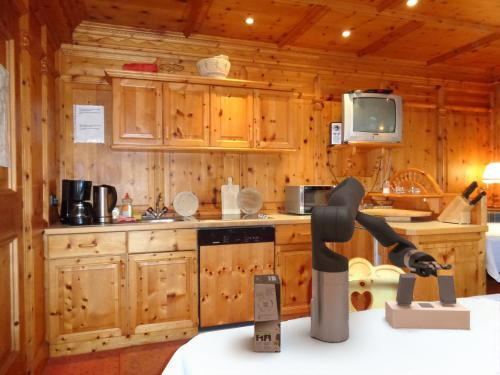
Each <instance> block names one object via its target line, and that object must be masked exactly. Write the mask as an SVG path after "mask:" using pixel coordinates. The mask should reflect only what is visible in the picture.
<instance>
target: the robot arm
mask: <svg viewBox="0 0 500 375" xmlns="http://www.w3.org/2000/svg"><path fill="white" fill-rule="evenodd" d="M329 194H330V198H329V199H328V201H327V203H326V205H317V206H314V207H313V208H312V209H311V214H310V239H311V274H312V275H311V276H312V277H311V280H312V281H311V294H312V295H311V299H310V337H311V338H316V339H318V340H320V341H323V342H329V343H339V342H344V341H346V340H348V339H349V338H350V311H349V310H350V290H349V289H350V282H349V280H350V277H349V276H350V275H349V274H350V271H349V270H350V268H349V267H350V266H349V265H350V262H349V259H348V257H346V256H345V255H343V254H341V253H338V252H336V251H334V250H332V249H331V248H330V247H329V246H327V244H326V243H338V244H340V243H341V244H343V243H348V242H349V241H351V240H352V238H353V236H354V232H355V228H356V223H358V224H359V225H360V226H361V227H363V228H364V229H365V230H366V231H367V232H368V233H369V234H371V235H372V237H373V238H374V239H375V240H376V241H377V243H379V244H380V245H381V246H382V247H384V248H389V247H392V246H393V247H392V249H390V250H389V251H388V253H387V259H388V261H389V262H390V263H391V264H392V265H393V266H396V267H397V268H401V269H402V268H403V269H404V268H405V269H406V268H407V269H408V270H409V274H414V275H417V276H419V278H420V277H421V278H430V277H433V278H437V270H453V266H452V264H444V266H443V264H441V263H438V262H437V260H436V259H435V257H434V256H432V255H431V254H429V253H427V252H425V251H422V250H420V249H417V246H416V245H415V243H413V242H411V241H410V240H408V239H406V238H404V237H402V235H400V234H398V233H397V232H396V231H395V230H394V229H393V227H391V225H390V224H389V223H388V222H387V221H385V219H383V218H381V217H378V216H375V215H372V214H370V213H369V214H368V213H365V212H363V211H360V210H359V208H360V204H361V202H362V199H363V198H365V195H366V191H365V188H364V185H363V184H362V182H361V181H360V180H359V179H357V178H355V177H353V176H348V177H346V178H345V179H343V180H341V181H340V182H339V183H338V184H337V185H336V186H334V187H333V188H332V189H331V190H330V192H329ZM394 245H395V246H394Z"/></svg>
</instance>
